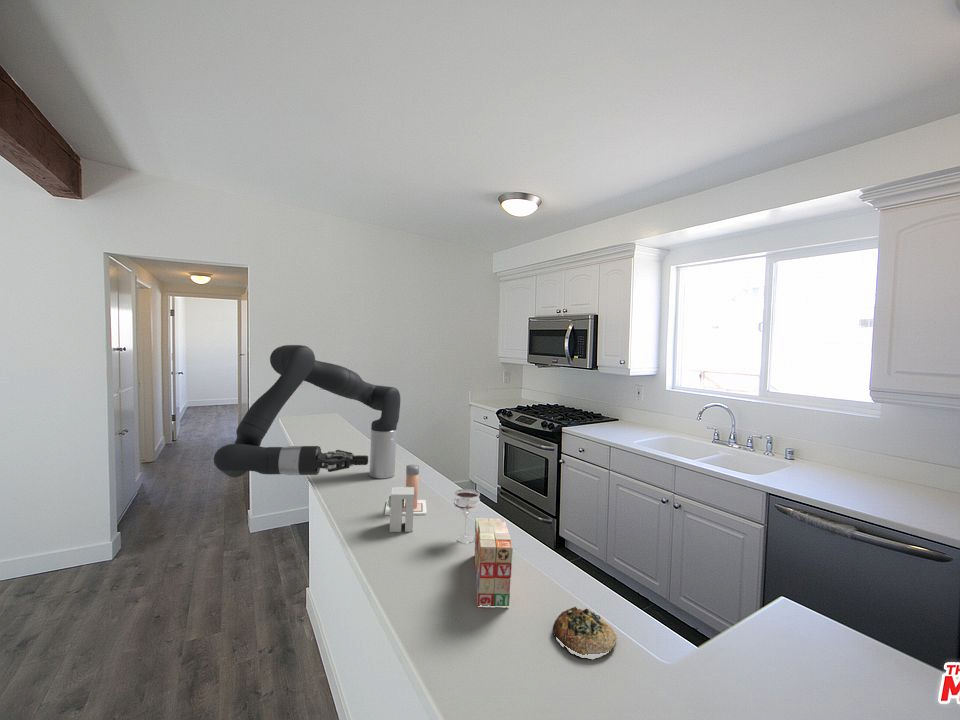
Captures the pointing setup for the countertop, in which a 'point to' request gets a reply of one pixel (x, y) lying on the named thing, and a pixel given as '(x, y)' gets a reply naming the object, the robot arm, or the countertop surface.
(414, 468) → the terracotta marker
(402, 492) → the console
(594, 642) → the bread roll
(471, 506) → the wineglass
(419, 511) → the white square board
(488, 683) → the countertop surface
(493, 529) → the stack of blocks
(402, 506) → the button
